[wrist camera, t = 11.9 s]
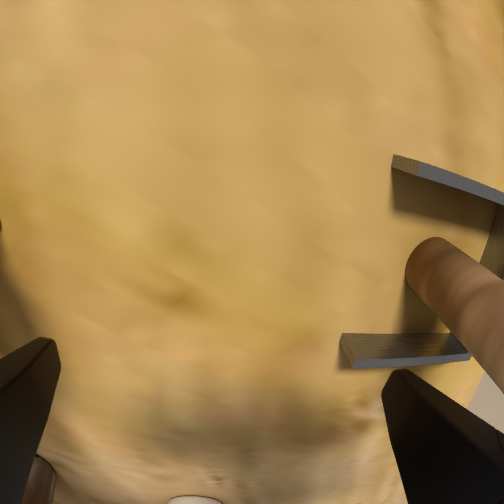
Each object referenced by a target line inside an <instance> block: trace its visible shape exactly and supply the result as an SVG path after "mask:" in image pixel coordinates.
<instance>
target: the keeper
mask: <svg viewBox="0 0 504 504" xmlns="http://www.w3.org/2000/svg"><path fill="white" fill-rule="evenodd" d="M391 167H393V168H396V169H399V170H402V171H405V172H408V173H411V174H413V175H416V176H419V177H423V178H426V179H429V180H433V181H436V182H439V183H442V184H445V185H448V186H451V187H454V188H457V189H460V190H463V191H466V192H469V193H472V194H475V195H477V196H480V197H483V198H486V199H488V200H491V201H494V202H496V203H499V205H498V209H497V212H496V216H495V219H494V223H493V226H492V229H491V232H490V236H489V239H488V242H487V245H486V248H485V251H484V254H483V256H482V259H481V262H480V264H481V265H483V266H484V267H485V268H487V269H488V270H490V271H491V272H492V273H494V274H495V275H496V276H498V277H499V278H500V279H502V280H503V281H504V193H503V192H501V191H498V190H496V189H494V188H491V187H489V186H486V185H484V184H481V183H479V182H476V181H474V180H471V179H469V178H466V177H463V176H461V175H458V174H455V173H453V172H450V171H447V170H444V169H441V168H438V167H435V166H432V165H430V164H427V163H423V162H420V161H417V160H413V159H410V158H406V157H402V156H398V155H394V157H393V162H392V166H391ZM340 344H341V346H342V348H343V350H344V352H345V354H346V357H347V359H348V361H349V363H350V365H351V367H352V369H355V368H384V367H403V366H417V365H429V364H440V363H450V362H459V361H467V360H470V358H471V356H472V355H471V354H470V352H469V351H468V350H467V349H466V348H465V347H464V346H463V344H462V343H461V342H460V341H459V340H458V339H457V338H456V336H455V335H454V334H453V333H452V332H450V333H445V334H354V333H343V334H342V336H341V339H340Z"/></svg>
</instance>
